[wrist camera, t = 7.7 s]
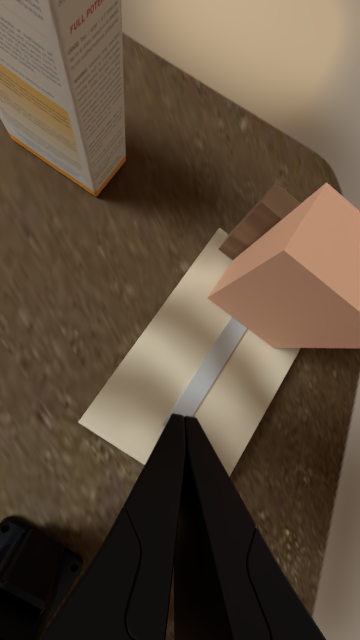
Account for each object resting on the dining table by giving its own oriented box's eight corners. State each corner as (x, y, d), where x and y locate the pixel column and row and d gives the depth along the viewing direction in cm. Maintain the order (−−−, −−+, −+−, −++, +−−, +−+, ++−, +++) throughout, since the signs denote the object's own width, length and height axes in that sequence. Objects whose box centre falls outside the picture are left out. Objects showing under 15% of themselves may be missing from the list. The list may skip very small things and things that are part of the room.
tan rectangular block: (273, 347, 20) (405, 348, 11) (207, 297, 20) (283, 250, 10) (295, 309, 21) (436, 278, 11) (232, 260, 20) (326, 182, 11)
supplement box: (128, 160, 22) (127, -105, 9) (96, 200, 21) (44, -35, 8) (46, 100, 21) (-87, -294, 8) (8, 138, 20) (-211, -239, 7)
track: (205, 496, 20) (260, 602, 12) (82, 416, 19) (44, 472, 10) (310, 311, 24) (406, 293, 16) (213, 235, 23) (262, 171, 14)
